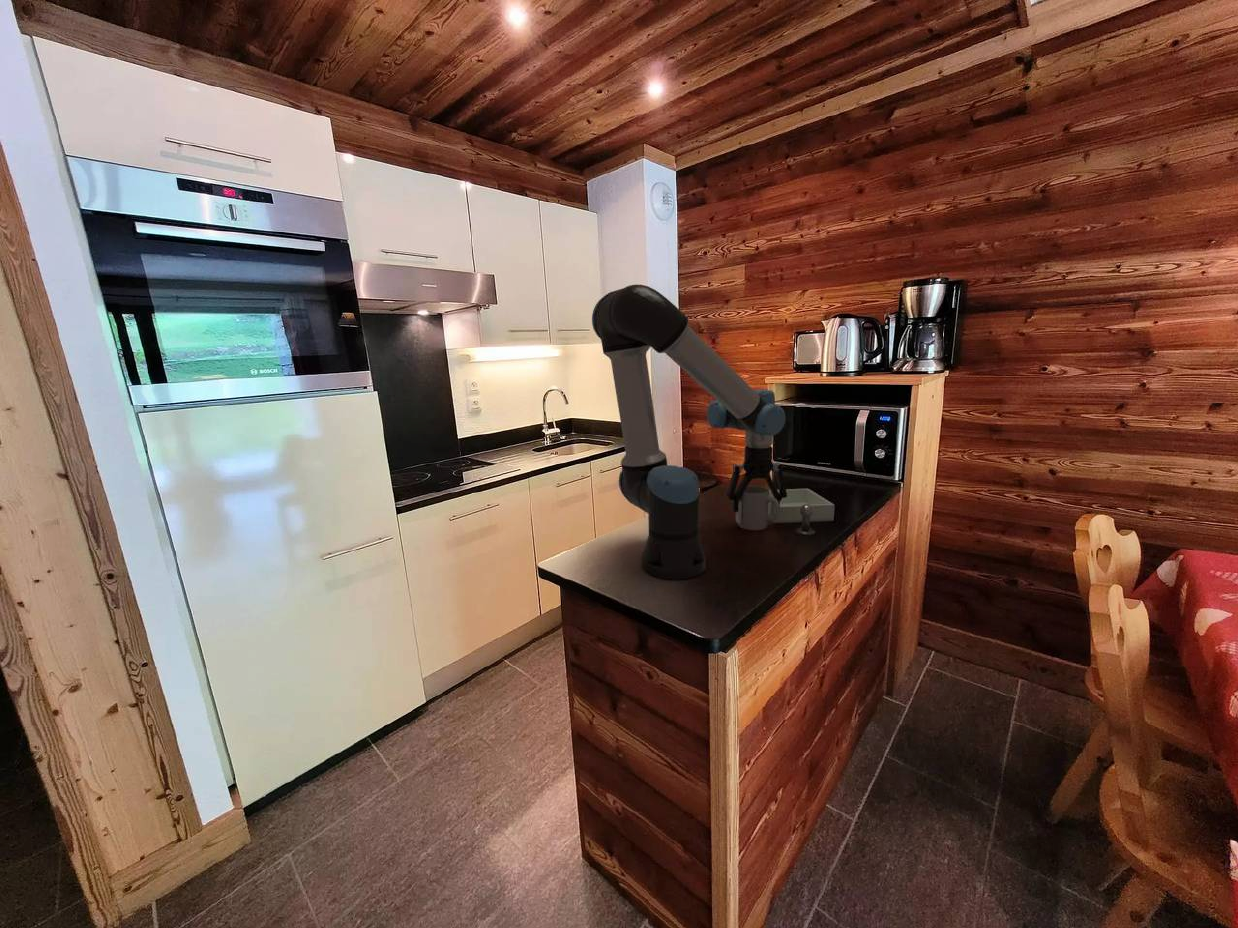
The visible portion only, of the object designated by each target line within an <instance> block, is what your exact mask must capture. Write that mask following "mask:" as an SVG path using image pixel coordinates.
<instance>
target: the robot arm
mask: <svg viewBox="0 0 1238 928" xmlns="http://www.w3.org/2000/svg"><path fill="white" fill-rule="evenodd" d="M591 314H592V315H591V324H592V328H593V331H594V333H595V335H596V336H597V337H598V338H599V339H600V340H601V348H602V352H603V354H604V355H605V356H606V357H608V358H609V360H610V363H611V369H612V375H613V382H614V387H615V388H614V389H615V395H616V401H617V407H618V412H619V413H618V414H619V419H620V427H621V433H622V439H623V445H624V453H625V455H624V456H623V457H622V458H621V460H620V463H621V471H620V473H619V476H618V487H619V489H620V493H621V494H622V496H623V497H624V498H625V499H626V501H628V502H629V503H630V504H631V505H633V506H635V507H637V508H638V509H640V510H642V511H643V512H645V513H646V514H647V515H648V518H647V519H648V535H647V539H646V541H645V545H644V549H643V551H642V555H641V568H642V570H643V571H644V572H645V573H647V574H648V575H650V576H651V577H655V578H659V579H665V580H686V579H691V578H694V577H697V576H699V575H702V574H703V572H704V571H705V570H706V556H705V553H704V549H703V546H702V544H701V541H700V538H699V506H700V504H699V503H700V502H699V501H700V499H699V498H700V497H699V496H700V495H699V494H700V487H699V486H700V485H699V478H698V476H697V474H696V473H695V472H694V471H693V470H691V469H689V468H687V467H684V466H678V465H671V464H670V465H668V459H667V454H666V453H665V452H663V451H662V450H661V449H660V447H659V446H660V445H659V439H658V438H659V437H658V432H657V430H658V429H657V424H656V418H655V409H654V403H653V402H654V401H653V395H652V388H651V381H650V373H649V365H648V360H647V359H648V358H647V353H648V351H649V350H650V348H651V349H653V350H654V351H655V352H656V353H658V354H664V353H665V355H666V356H668V358H670V360H672V361H673V362H674V363H675V364H676V365H678V367H680V368H681V369H682V370H683V371H684V372H686V374H687V375H688V376H690V377H691V379H693V380H694V381H695V382H696V383H697V384H699V385H700V386H701V387H702V388H703V389H704V390H705V391H706V392H707V393H708V394H710V396H712V397H713V398H714V399H715V400H713V401H711V402H709V404H708V406H707V408H706V420H707V423H708V425H709V426H710V427H711V428H713V429H721V430H723V429H733V430H738V431H744V432H745V434H744V444H745V446H744V461H743V463H742V464H733V465H732V475H731V478H730V482H729V485H728V490H727V492H726V497H727V498H728V500H729V501H732V511H734V512H735V522H736V523H737V525H738V524H741V506H742V502H741V501H740V500H739V499H740V498H741V496H742V494H743V493H744V491H745V489H746V487H747V486H749V484H750V482H752V480H754V479H755V480H756V479H764V480H765V482H766V484H767V486H768V489H769V490H771V492H772V494H773V496H774V498H775V499H777V501H778V502H779V507H780V501H781V500H782V498H786V497H787V492H786V489H787V487H786V484H785V479H784V475H783V471H784V465H783V464H781V463H779V462H776V463H773V452H774V451H773V449H774V447H772V446H773V444H774V436H776V435H777V434H779V433H780V432H781V431H782V430H783V428H784V426H785V424H786V413H785V410H784V409H783V408H782V407H781V406H780V405H777V404H776V397H775V395H776V394H775V392H774V391H773V390H771V389H753V388H752V387H751V385H750V384H748V383H747V382H746V381H745V379H743V377H741V376H740V375H739V374H738V373H737V372H736V371H735V370H734V369H733V368H732V367H731V366H730V365H729V364H728V363H727V362H726V361H725V360H724V359H723V358H722V357H721V356H720V355H719V354H718V353H717V352H716V351H714V349H713V348H712V347H710V345H709V344H708V343H707V342H706V341H704V339H703V338H702V337H700V335H698V333H696V332H695V331H694V330H693V329H692V327H690V326H689V325H690V320H689V318H688V317H687V316H686V314H684V313H683V312H682V311H681V310H680V309H679V308H678V307H677V306H676V305H675V304H674V303H673V302H671V301H670V299H668V298H667V297H665V296H664V295H663V294H662V293H660V292H659V291H658V290H656V289H654V288H652V287H650V286H648V285H644V284H631V285H627V286H625V287H623V288H620V289H616V290H614V291H610V292H608V293H606V294H605V295H604V296H603V297H601V298H600V299H599V300H598V301H597V303H595V305H594V308H593V311H592V313H591ZM742 470H743V471H744V472H745V473H744V475H743V477H742V480H741V481H740V483H739V479H740V476H741V475H740V474H741V473H742ZM772 470H773V471H774V474H775V478H776V484H777V487H778V488H777V487H776V486H775V483H774V481H773V478H772V476H771V475H770V472H771V471H772ZM738 483H739V485H738ZM737 486H738V487H737ZM777 490H779V492H780V493H778V491H777ZM775 512H776V507H775V504H773V503H771V508H770V515H772V516H774V515H775ZM773 522H776V520H774V521H771V523H773Z"/></svg>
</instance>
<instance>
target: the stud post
mask: <svg viewBox="0 0 1238 928" xmlns="http://www.w3.org/2000/svg"><path fill="white" fill-rule="evenodd" d="M813 512H814V510H813V507H812V506H811V505H808V504H804V505H802V506H801V507H800V514H801V515H802V522H801V527H797V528H796V529H795V533H797V534H798V535H800V536H801V535H802V536H814V535H815V534H816V531H815V529H813V528H811V527H810V524H811V522H810V516H812V514H813Z"/></svg>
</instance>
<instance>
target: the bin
mask: <svg viewBox="0 0 1238 928" xmlns="http://www.w3.org/2000/svg"><path fill="white" fill-rule="evenodd" d="M768 490H769V497H773V498H774V496H773V494H772V492H771V490H770V489H768ZM777 491H778V493H780V492H779V489H777ZM786 492H787V497H786V498H782V500H781V501H780V511H779V516H778V518H777V519H776V522H772V523H773V524H792V523H793V524H794V523H802V515H801V514H800V507H801V506H802V505H804V504H808V505H811V506H812V507H813V510H814V512H813V514H812V516H810V523H815V522H816V523H818V522H819V523H820V522H834V518H835V508H836V507H835V504H834V503H833V502H831V501H829V500H828V499H826V498H825V497H823V496H821V495H819V494H818V493H816V492H815V491H813V490H811V489H810V488H793V489H792V488H791V489H790V488H788V489H787V488H786ZM770 508H771V503H769V505H768V514H769V515H770Z"/></svg>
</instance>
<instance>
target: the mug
mask: <svg viewBox="0 0 1238 928" xmlns="http://www.w3.org/2000/svg"><path fill="white" fill-rule="evenodd" d="M769 490H770V489H769V488H767V487H765V486H759V485H748V486H747V487H746V489H745V491H744V493H743V494H742V496H741V498H740V499H739V500H740V501H741V502H742V506H741V524H738V523H737V526H738V527H739V528H741V529H743V530H747V531H748V530H749V531H761V530H762V531H763V530H766V529H767V528H768V526H769V525H768V524H769V522H772V521H774V520H776V519H777V518H778V516H779V511H780V507H779V502H778V501H777V499H775V498H773V497H769ZM769 503H773V504H775V507H776V512H775V515H774V516H772V515H769V514H768V505H769Z"/></svg>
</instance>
